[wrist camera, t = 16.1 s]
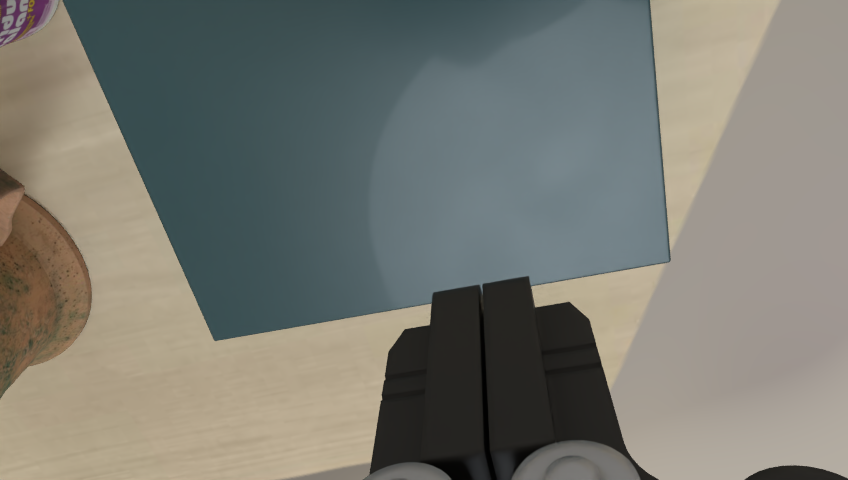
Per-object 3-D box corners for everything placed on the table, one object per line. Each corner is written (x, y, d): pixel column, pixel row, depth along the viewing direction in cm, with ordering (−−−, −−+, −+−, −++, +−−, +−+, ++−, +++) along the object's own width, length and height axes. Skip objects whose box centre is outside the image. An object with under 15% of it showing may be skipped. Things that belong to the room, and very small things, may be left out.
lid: (631, -151, 18) (638, -152, 17) (664, 250, 23) (671, 262, 22) (73, -9, 20) (59, -4, 19) (220, 328, 25) (214, 342, 24)
